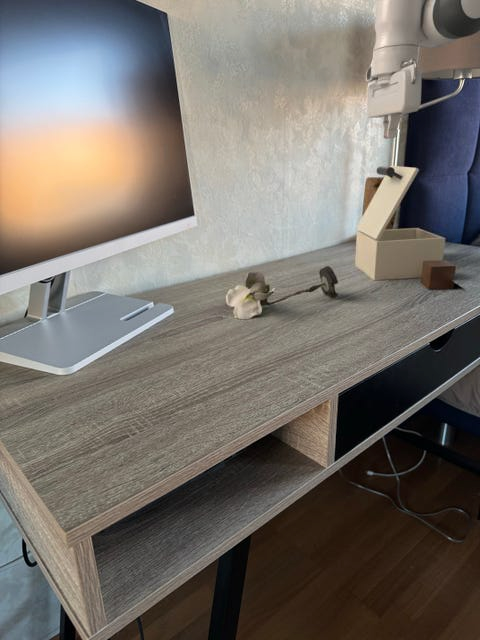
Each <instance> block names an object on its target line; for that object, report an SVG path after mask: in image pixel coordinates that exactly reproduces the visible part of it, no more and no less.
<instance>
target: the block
mask: <svg viewBox="0 0 480 640" xmlns="http://www.w3.org/2000/svg"><path fill="white" fill-rule="evenodd" d="M384 177H385V176H378V177H376V176H375V177H373V176H371V177H370V176H368V177H366V178H365V179H366V180H365V184H364V191H363V199H362V200H363V201H362V212H361V218H362V217H363V215H364V213H365V211H366V209H367V208H368V206H369V204H370V202H371V200H372V199H373V197H374V195H375V193H376V191H377V190H378V188H379V186H380V184H381V182H382V181H383V179H384ZM396 215H397V210H396V211H395V213H394V214H393V216H392V218H391V220H390V221H389V223H388V225H387V227H386V228H385V230H390V229H394V224H395V222H396Z"/></svg>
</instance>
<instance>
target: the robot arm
mask: <svg viewBox="0 0 480 640" xmlns="http://www.w3.org/2000/svg"><path fill="white" fill-rule="evenodd" d="M374 17H375V18H374V31H375V43H374V46H373V50H372V51H373V52H372V60H371V63H370V65H369V67H368V69H367V70H366V72H365V82H366V83H367V82H368V83H367V84H368V85H367V87H366V88H367V89H366V113H367V117H368V118H369V119H379V118H381V127H382V130H383V131H382V138H383V139H385V140H386V139H396V137H397V132H398V128H399V125H400V122H401V115H404V114H410V113H415V112H418V111H419V109H420V106H421V102H422V72H421V70H420V69H419V63H418V62H419V53H420V47H422V48H429V49H434V48H440V47H442V46H445V45H447V44H450V43H452V42H455V41H457V40H460V39H463V38H466V37H470V36H473V35H475V34H477V33H479V32H480V0H376V8H375V16H374Z"/></svg>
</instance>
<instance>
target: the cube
mask: <svg viewBox="0 0 480 640" xmlns="http://www.w3.org/2000/svg"><path fill="white" fill-rule="evenodd" d="M456 268H457V265H455V264H454V263H452V262H450V261H449V260H448V259H447V260H446V259H443V260H436V261H423V267H422V276H421V278H420V284H421V285H422V286H424V287H425V288H426V289H427V290H429V291H431V290H439V291H440V290H453V289H454V285H455V277H456Z"/></svg>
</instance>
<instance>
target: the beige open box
mask: <svg viewBox="0 0 480 640" xmlns="http://www.w3.org/2000/svg"><path fill="white" fill-rule="evenodd" d="M355 240H356V242H355V258H354V259H355V260H354V266H355V267H356V268H357V269H358V270H360V271H361V272H362V273H364V274H365V275H367V276H368V277H369V278H370V279H371V280H373V281H386V280H403V279H405V280H406V279H418V278H419V279H421V276H422V267H423V261H436V260H444V253H445V245H446V237H443V236H440V235H438V234H436V233H432V232H430V231H427V230H424V229H421V228H420V227H412V228H411V227H410V228H393V229H390V230H384V232H383V233H382V235H381V237H380V239H379V240H376V239H374V238H372V237H370V236H369V235H367V234H365V233H363V232H361V231H359V230H357V231H356V239H355Z"/></svg>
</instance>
